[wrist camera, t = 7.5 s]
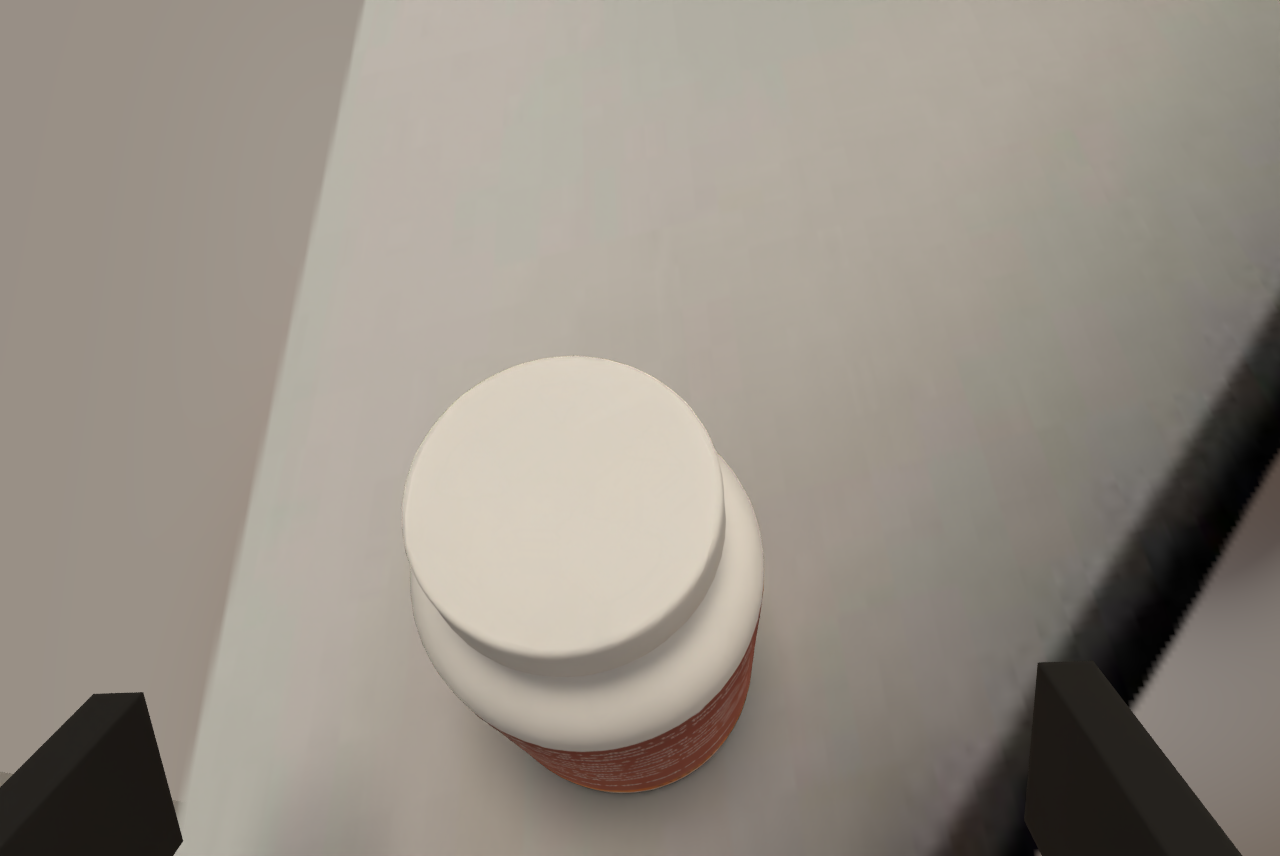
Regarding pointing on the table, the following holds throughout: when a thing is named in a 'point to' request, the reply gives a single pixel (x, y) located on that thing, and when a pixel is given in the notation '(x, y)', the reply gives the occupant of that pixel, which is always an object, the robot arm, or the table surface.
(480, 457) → the pill bottle
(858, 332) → the table surface
